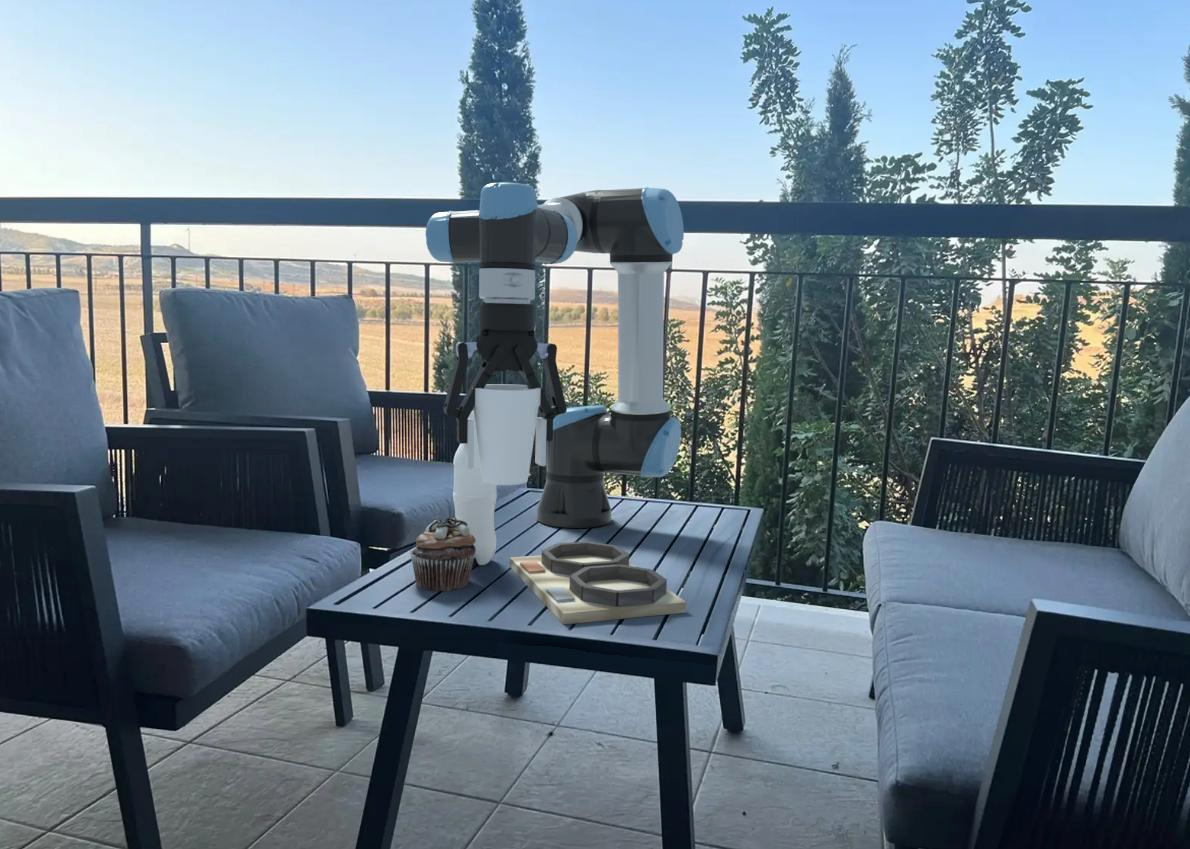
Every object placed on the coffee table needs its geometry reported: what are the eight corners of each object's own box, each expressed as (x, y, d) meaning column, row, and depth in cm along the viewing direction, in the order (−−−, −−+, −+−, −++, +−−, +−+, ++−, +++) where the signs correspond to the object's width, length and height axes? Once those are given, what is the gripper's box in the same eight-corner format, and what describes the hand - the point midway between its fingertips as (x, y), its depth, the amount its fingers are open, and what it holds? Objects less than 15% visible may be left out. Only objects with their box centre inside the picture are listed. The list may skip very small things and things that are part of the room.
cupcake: (450, 570, 136) (450, 508, 135) (487, 584, 129) (488, 519, 128) (397, 581, 129) (397, 516, 128) (434, 597, 122) (435, 529, 121)
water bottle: (488, 569, 137) (491, 414, 134) (446, 566, 138) (447, 412, 135) (500, 557, 144) (503, 410, 141) (460, 554, 145) (462, 408, 142)
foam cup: (506, 471, 125) (507, 383, 123) (552, 480, 119) (554, 388, 117) (456, 480, 117) (456, 386, 116) (503, 490, 112) (504, 391, 110)
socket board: (509, 566, 139) (510, 545, 138) (612, 559, 145) (613, 539, 145) (563, 624, 113) (564, 598, 112) (685, 612, 119) (686, 588, 119)
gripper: (429, 299, 108) (429, 473, 111) (593, 304, 115) (589, 467, 118) (420, 299, 115) (420, 463, 118) (575, 304, 122) (572, 458, 125)
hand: (505, 465), depth 118 cm, fingers closed on foam cup, 9 cm apart
